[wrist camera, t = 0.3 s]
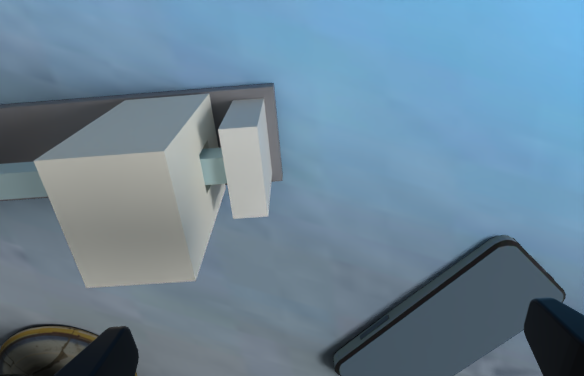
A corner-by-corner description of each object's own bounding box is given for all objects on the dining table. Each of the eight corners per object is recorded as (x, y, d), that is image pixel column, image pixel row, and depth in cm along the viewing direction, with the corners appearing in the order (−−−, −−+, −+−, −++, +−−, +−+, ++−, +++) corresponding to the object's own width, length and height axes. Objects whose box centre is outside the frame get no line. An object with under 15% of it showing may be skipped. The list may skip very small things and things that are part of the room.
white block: (225, 188, 20) (195, 281, 14) (150, 193, 20) (86, 288, 14) (209, 93, 18) (164, 151, 11) (125, 100, 18) (33, 160, 12)
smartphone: (575, 301, 25) (398, 415, 29) (558, 283, 26) (392, 395, 31) (510, 234, 22) (328, 370, 27) (495, 220, 24) (325, 351, 28)
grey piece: (282, 174, 21) (280, 226, 17) (-34, 197, 22) (-123, 254, 17) (273, 83, 19) (268, 113, 14) (-80, 110, 19) (-198, 149, 15)
